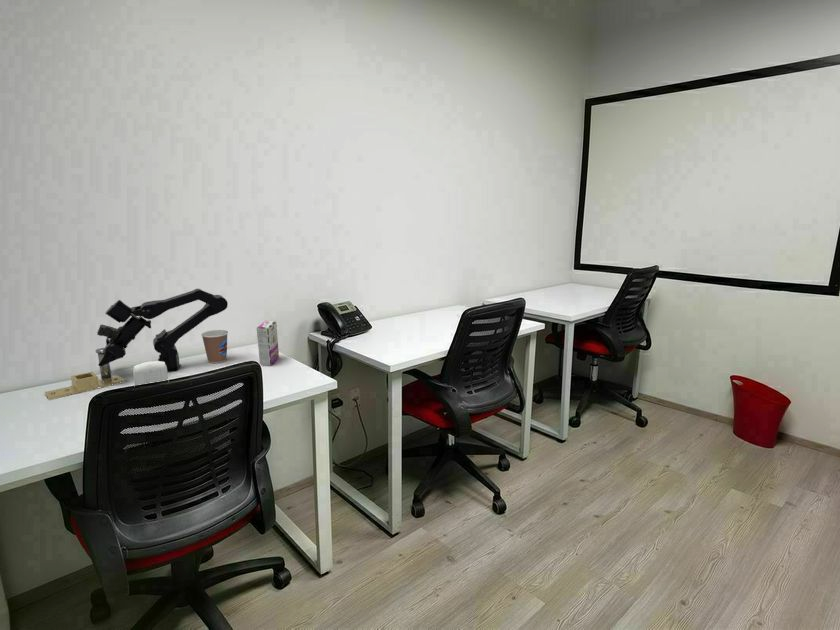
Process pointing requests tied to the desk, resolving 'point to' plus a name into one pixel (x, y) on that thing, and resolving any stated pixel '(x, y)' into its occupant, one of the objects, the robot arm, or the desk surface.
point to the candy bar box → (267, 342)
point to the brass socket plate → (83, 384)
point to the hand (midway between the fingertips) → (99, 362)
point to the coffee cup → (215, 345)
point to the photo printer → (150, 372)
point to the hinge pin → (105, 368)
